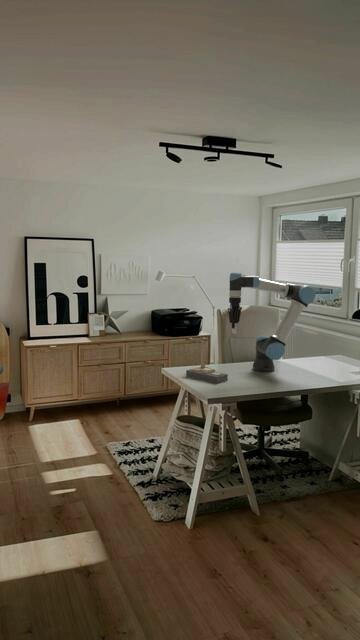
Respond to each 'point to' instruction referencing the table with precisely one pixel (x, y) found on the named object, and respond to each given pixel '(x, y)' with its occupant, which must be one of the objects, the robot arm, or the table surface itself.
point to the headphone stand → (203, 354)
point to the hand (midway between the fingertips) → (234, 333)
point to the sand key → (206, 370)
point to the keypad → (207, 376)
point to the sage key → (216, 374)
